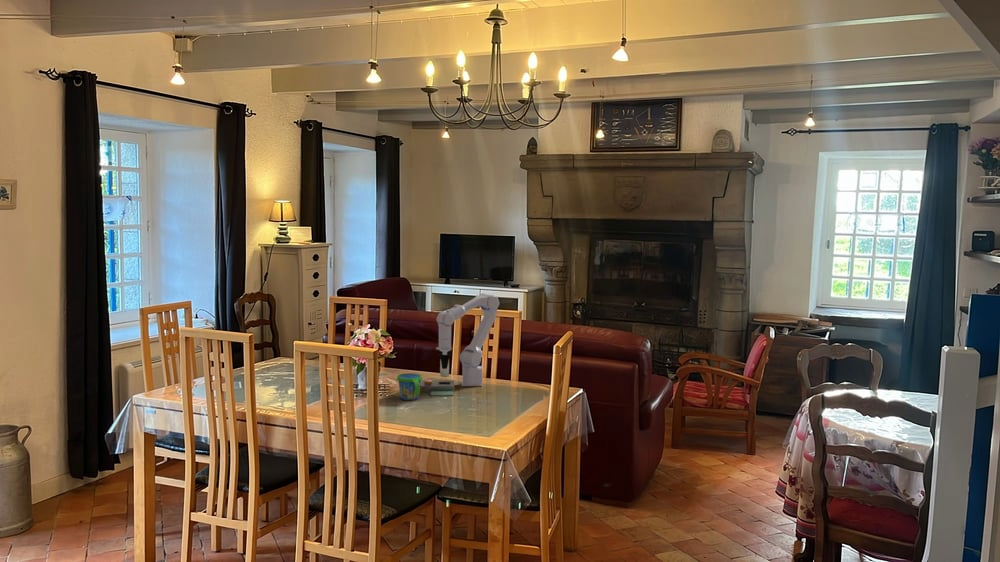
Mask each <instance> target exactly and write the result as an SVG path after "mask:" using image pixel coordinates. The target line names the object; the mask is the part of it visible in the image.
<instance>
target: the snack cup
mask: <svg viewBox="0 0 1000 562" xmlns="http://www.w3.org/2000/svg"><path fill="white" fill-rule="evenodd" d="M396 378H397V381H398V388H399V396H400V399H401V400H403V401H416V400H417V399H419V396H420V394H421V384H422V380H423V376H422V375H421V374H419V373H401V374H399V375H398V374H397V376H396Z"/></svg>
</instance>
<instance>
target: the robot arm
mask: <svg viewBox="0 0 1000 562" xmlns="http://www.w3.org/2000/svg"><path fill="white" fill-rule="evenodd" d="M478 307H479V308H480V309H481V311H482V312H483V317H482V319H481V321H480V323H479V326H477V327H478V328H477V329H476V331H475V334H474V336H473V338H472V340H471V341H470V344H469V345H466V347H464V349H463V350H462V351H461V353H459V361H460V363H461V366H462V368H461V369H462V370H461V371H462V372H461V373H462V376H461V377H462V379H461V387H482V386H483V384H482V383H483V366H482V365H480V364H481V362H482V357H483V351H482V348H483V346H484V344H485V341H486V339H487V337H488V335H489V333H490V331H491V329H492V327H493V324H494V322H495V320H496V318H497V316H498V315H497V314H498V308H499V307H500V300H499V297H498V296H496V295H495V294H487V293H484V292H483V293H480V294H479V295H477V294H476V295H475V297H474V298H472V299H471V300H469V301H467V302H466V303H463V304H462V305H461V304H454V306H453V307H451V308H450V309H446V310H445V311H441V312H439V313H438V315H437V317H436V318H435V320H436V322H437V325H438V346H437V347H435V350H437V351H438V357H439V360H440V359H441V364H442V369H447V366H448V361H449V362H450V358H451V356H452V325H453V324H454V322H455V321H457V320H458V319H461V318H463V317H465V314H466V313H467V312H468V311H470V310H473V309H476V308H478Z"/></svg>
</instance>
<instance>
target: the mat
mask: <svg viewBox="0 0 1000 562" xmlns="http://www.w3.org/2000/svg"><path fill="white" fill-rule="evenodd" d="M430 396H431V397H453V396H454V392H453V391H431V392H430Z"/></svg>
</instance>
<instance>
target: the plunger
mask: <svg viewBox="0 0 1000 562" xmlns="http://www.w3.org/2000/svg"><path fill="white" fill-rule="evenodd" d="M423 380H424V382H425V384H431V382H432V380H433V379H423Z"/></svg>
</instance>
